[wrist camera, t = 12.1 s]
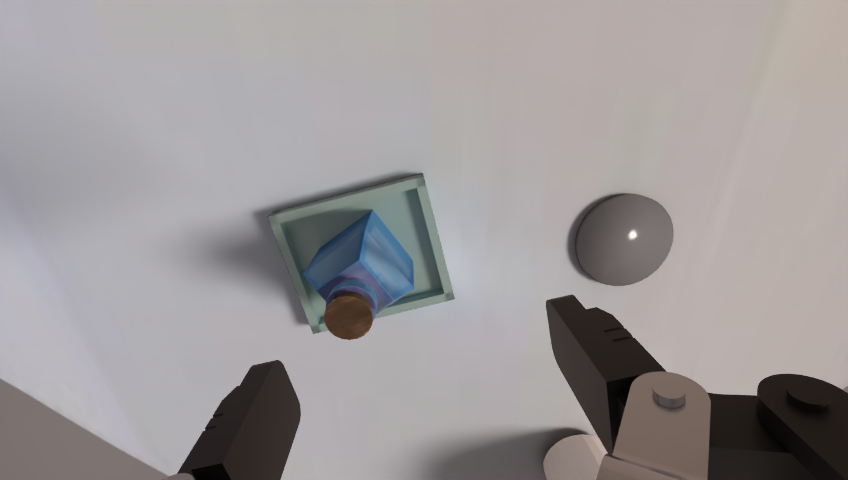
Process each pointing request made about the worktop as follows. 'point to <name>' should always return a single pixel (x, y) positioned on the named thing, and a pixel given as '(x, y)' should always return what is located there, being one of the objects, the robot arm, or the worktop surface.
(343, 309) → the perfume bottle
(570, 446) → the cup
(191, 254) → the worktop surface
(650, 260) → the grey domed puck
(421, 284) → the tray
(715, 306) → the worktop surface
